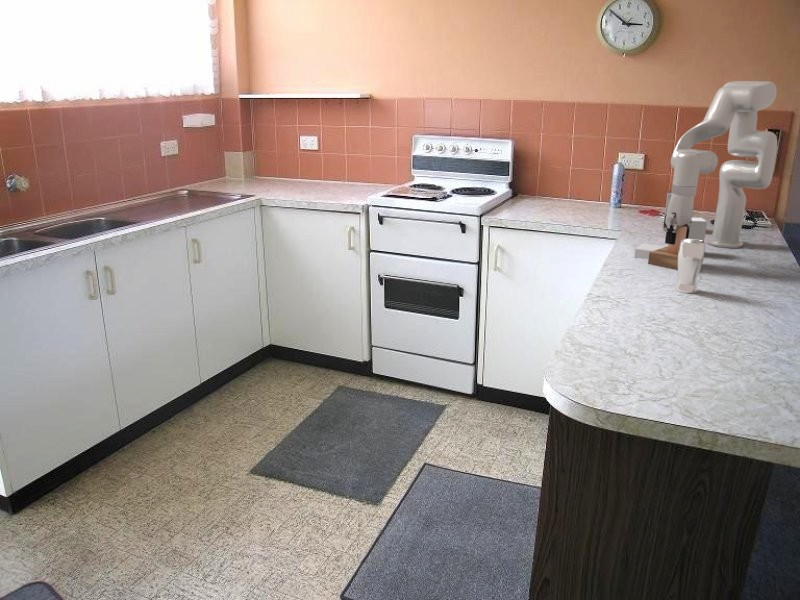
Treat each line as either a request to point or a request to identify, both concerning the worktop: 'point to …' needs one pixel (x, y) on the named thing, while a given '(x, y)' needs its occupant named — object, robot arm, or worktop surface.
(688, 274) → the beer glass
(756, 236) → the worktop surface
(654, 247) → the white plinth
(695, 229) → the supplement box
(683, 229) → the glossy peach capsule
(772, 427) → the worktop surface
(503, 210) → the worktop surface
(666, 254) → the walnut plinth
